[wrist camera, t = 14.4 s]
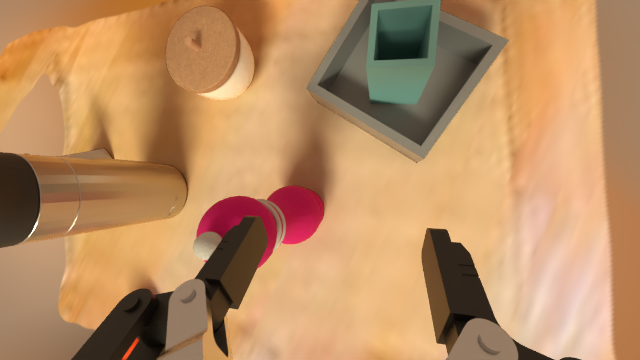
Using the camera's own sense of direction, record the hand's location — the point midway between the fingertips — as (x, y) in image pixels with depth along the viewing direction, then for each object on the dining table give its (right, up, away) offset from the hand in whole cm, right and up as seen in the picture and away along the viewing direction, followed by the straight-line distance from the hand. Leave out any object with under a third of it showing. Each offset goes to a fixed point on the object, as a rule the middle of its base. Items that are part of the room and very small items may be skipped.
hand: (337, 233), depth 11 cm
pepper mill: (-3, -2, +22) cm, 23 cm away
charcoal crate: (+9, +15, +19) cm, 26 cm away
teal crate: (+9, +15, +18) cm, 25 cm away
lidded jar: (-14, +19, +25) cm, 35 cm away
